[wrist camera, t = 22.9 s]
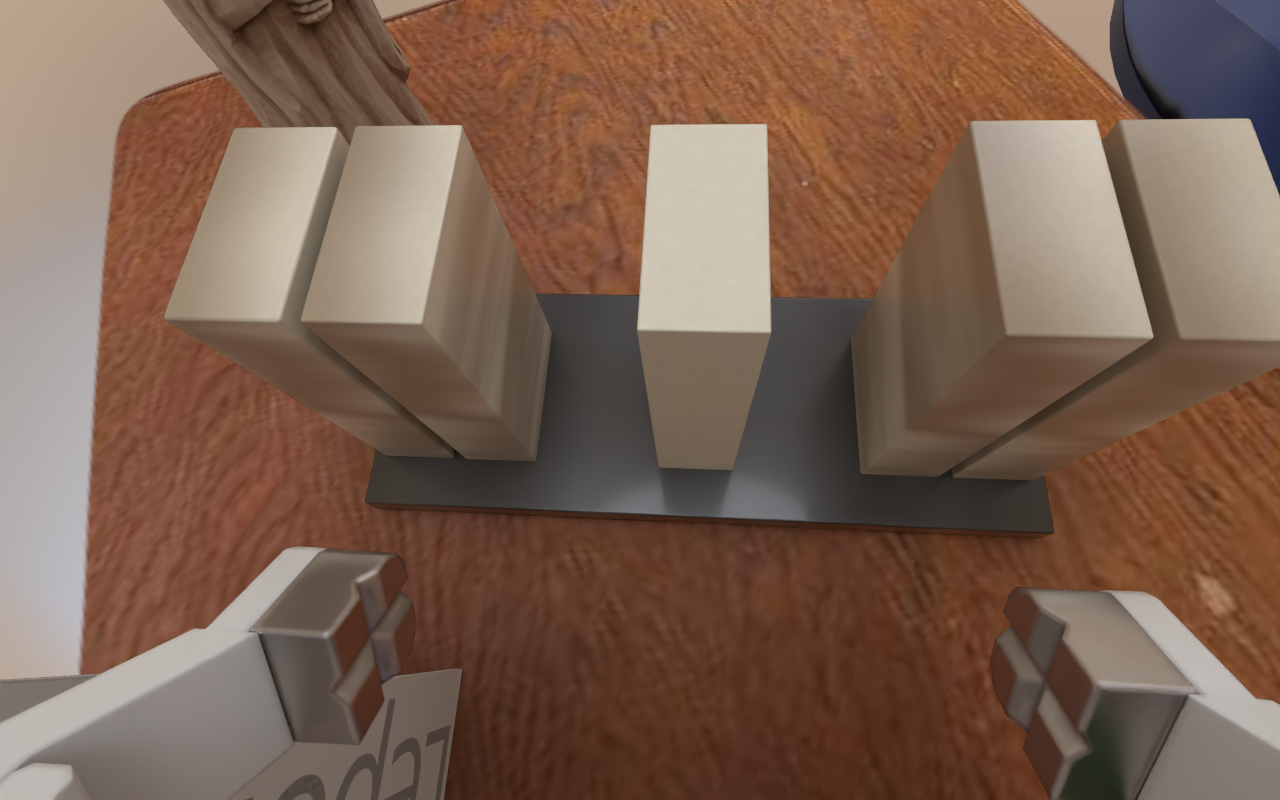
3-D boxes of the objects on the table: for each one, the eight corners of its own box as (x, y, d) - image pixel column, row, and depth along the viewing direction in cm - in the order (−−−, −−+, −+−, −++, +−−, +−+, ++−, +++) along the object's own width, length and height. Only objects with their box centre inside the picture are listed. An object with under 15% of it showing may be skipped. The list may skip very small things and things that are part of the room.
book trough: (1000, 313, 28) (1249, 55, 16) (1038, 538, 24) (1402, 435, 12) (420, 303, 30) (237, 72, 18) (377, 508, 27) (111, 395, 14)
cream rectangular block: (733, 336, 27) (767, 122, 16) (732, 470, 25) (771, 333, 14) (664, 335, 27) (650, 123, 16) (658, 467, 25) (636, 330, 14)
